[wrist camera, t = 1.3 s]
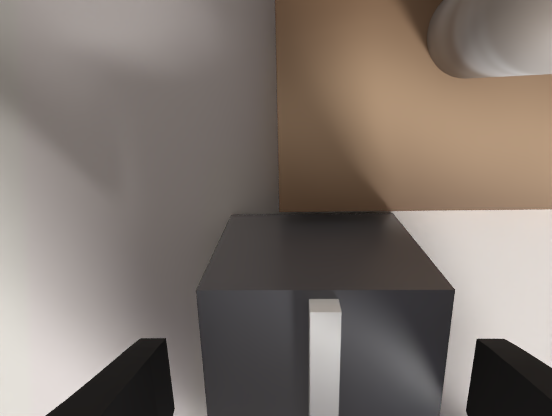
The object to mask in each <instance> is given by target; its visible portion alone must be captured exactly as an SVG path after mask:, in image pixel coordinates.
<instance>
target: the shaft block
mask: <svg viewBox="0 0 552 416" xmlns="http://www.w3.org/2000/svg"><path fill="white" fill-rule="evenodd" d="M275 21H276V70H277V118H278V167H279V212H328V211H425V210H523V209H552V0H275Z"/></svg>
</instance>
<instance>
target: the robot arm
mask: <svg viewBox="0 0 552 416" xmlns="http://www.w3.org/2000/svg"><path fill="white" fill-rule="evenodd" d="M174 409H175V408H174V400H173V392H172V384H171V376H170V367H169V359H168V351H167V343H166V338H141V339H139V340H138V341H137V342H135V343H134V344H133V345H132V346H130V347H129V348H128V349H127V350H126V351H124V352H123V353H122V354H121V355H120V356H118V357H117V358H116V359H115V360H114V361H113V362H111V363H110V364H109V365H108V366H107V367H105V368H104V369H103V370H102V371H101V372H100V373H98V374H97V375H96V376H95V377H93V378H92V379H91V380H90V381H89V382H87V383H86V384H85V385H84V386H83V387H81V388H80V389H79V390H78V391H76V392H75V393H74V394H73V395H72V396H70V397H69V398H68V399H67V400H65V401H64V402H63V403H61V404H60V405H59V406H58V407H56V408H55V409H54V410H52V411H51V412H50V413H48V414H47V415H46V416H173V413H174ZM466 412H467V415H468V416H552V368H551V367H549V366H548V365H546V364H545V363H543V362H542V361H540V360H538V359H537V358H535V357H534V356H532V355H531V354H529V353H527V352H526V351H524V350H522V349H521V348H519V347H518V346H516V345H514V344H512V343H511V342H509V341H507V340H505V339H477V341H476V348H475V354H474V361H473V368H472V374H471V381H470V387H469V394H468V401H467V407H466Z"/></svg>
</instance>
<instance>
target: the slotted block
mask: <svg viewBox="0 0 552 416" xmlns="http://www.w3.org/2000/svg"><path fill="white" fill-rule="evenodd" d="M196 294H197V305H198V316H199V327H200V338H201V349H202V360H203V371H204V382H205V393H206V404H207V415H208V416H439V415H440V407H441V399H442V391H443V383H444V375H445V367H446V359H447V350H448V342H449V334H450V326H451V318H452V310H453V302H454V294H455V289H454V288H453V287H452V286H451V284H450V283H449V282H448V281H447V279H446V278H445V277H444V276H443V274H442V273H441V272H440V271H439V270H438V268H437V267H436V266H435V265H434V263H433V262H432V261H431V260H430V258H429V257H428V256H427V255H426V254H425V252H424V251H423V250H422V249H421V247H420V246H419V245H418V244H417V242H416V241H415V240H414V239H413V238H412V236H411V235H410V234H409V233H408V231H407V230H406V229H405V228H404V226H403V225H402V224H401V223H400V222H399V220H398V219H397V218H396V217H395V215H394V214H393V213H370V214H270V215H231V217H230V219H229V221H228V223H227V226H226V228H225V230H224V232H223V234H222V236H221V238H220V240H219V243H218V245H217V247H216V249H215V251H214V253H213V255H212V258H211V260H210V262H209V264H208V266H207V268H206V270H205V273H204V275H203V277H202V279H201V281H200V283H199V285H198V288H197V290H196Z"/></svg>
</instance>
